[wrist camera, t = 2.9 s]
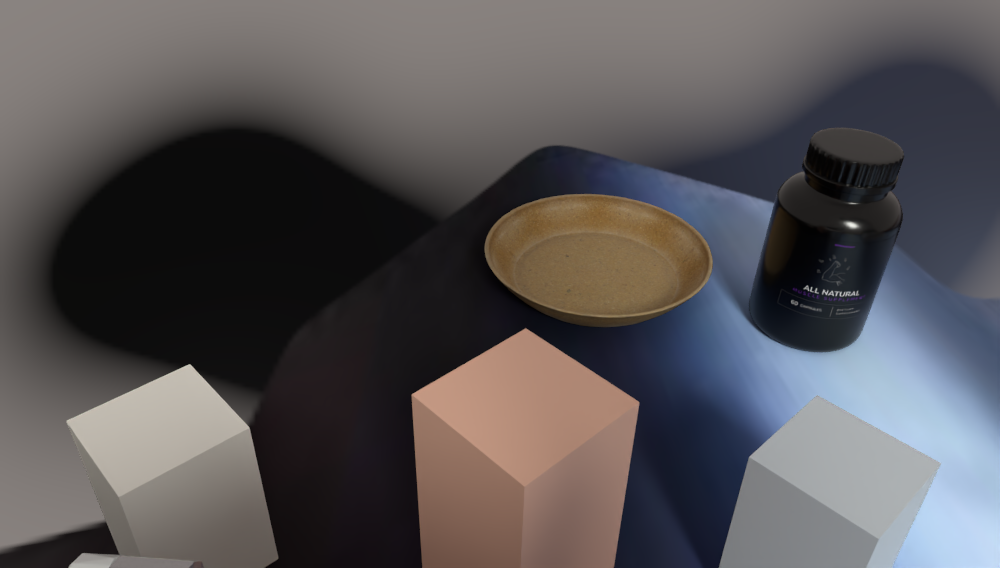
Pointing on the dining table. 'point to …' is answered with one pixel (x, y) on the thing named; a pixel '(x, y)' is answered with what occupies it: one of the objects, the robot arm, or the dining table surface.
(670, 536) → the dining table surface
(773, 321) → the supplement bottle
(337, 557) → the dining table surface
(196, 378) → the off-white block
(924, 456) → the grey-blue block
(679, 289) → the plant saucer
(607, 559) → the coral block
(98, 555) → the robot arm
